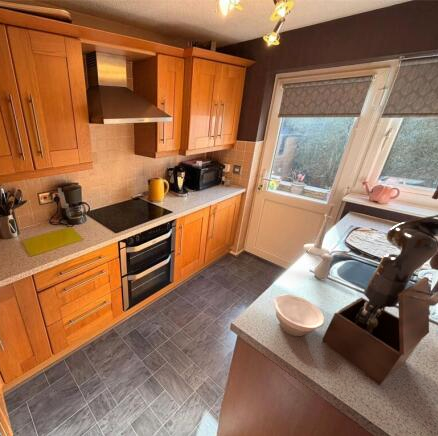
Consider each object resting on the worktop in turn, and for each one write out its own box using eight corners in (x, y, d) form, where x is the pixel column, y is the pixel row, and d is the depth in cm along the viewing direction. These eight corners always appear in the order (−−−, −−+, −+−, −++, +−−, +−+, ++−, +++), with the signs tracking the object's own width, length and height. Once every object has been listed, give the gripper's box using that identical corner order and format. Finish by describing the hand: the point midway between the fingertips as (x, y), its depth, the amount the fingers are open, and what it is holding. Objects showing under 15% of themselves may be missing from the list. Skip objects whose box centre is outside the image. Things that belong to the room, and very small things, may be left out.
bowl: (321, 326, 88) (328, 309, 85) (311, 354, 78) (319, 336, 75) (276, 304, 99) (281, 288, 95) (262, 326, 88) (267, 309, 85)
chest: (321, 340, 83) (334, 312, 77) (347, 324, 89) (361, 297, 83) (379, 385, 69) (401, 355, 63) (405, 362, 76) (426, 332, 70)
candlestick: (302, 243, 145) (317, 198, 133) (327, 248, 140) (345, 201, 127) (304, 252, 135) (320, 205, 122) (331, 258, 129) (350, 209, 117)
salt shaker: (329, 279, 113) (338, 257, 108) (320, 282, 111) (329, 259, 106) (318, 272, 118) (326, 251, 113) (309, 274, 117) (317, 253, 111)
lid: (398, 294, 62) (427, 301, 57) (424, 276, 68) (452, 281, 63) (399, 353, 63) (427, 365, 59) (425, 331, 70) (452, 340, 65)
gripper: (390, 303, 64) (366, 344, 71) (412, 287, 70) (388, 327, 77) (358, 286, 70) (339, 325, 78) (381, 273, 76) (361, 311, 83)
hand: (363, 326), depth 77 cm, fingers closed on cork, 5 cm apart
